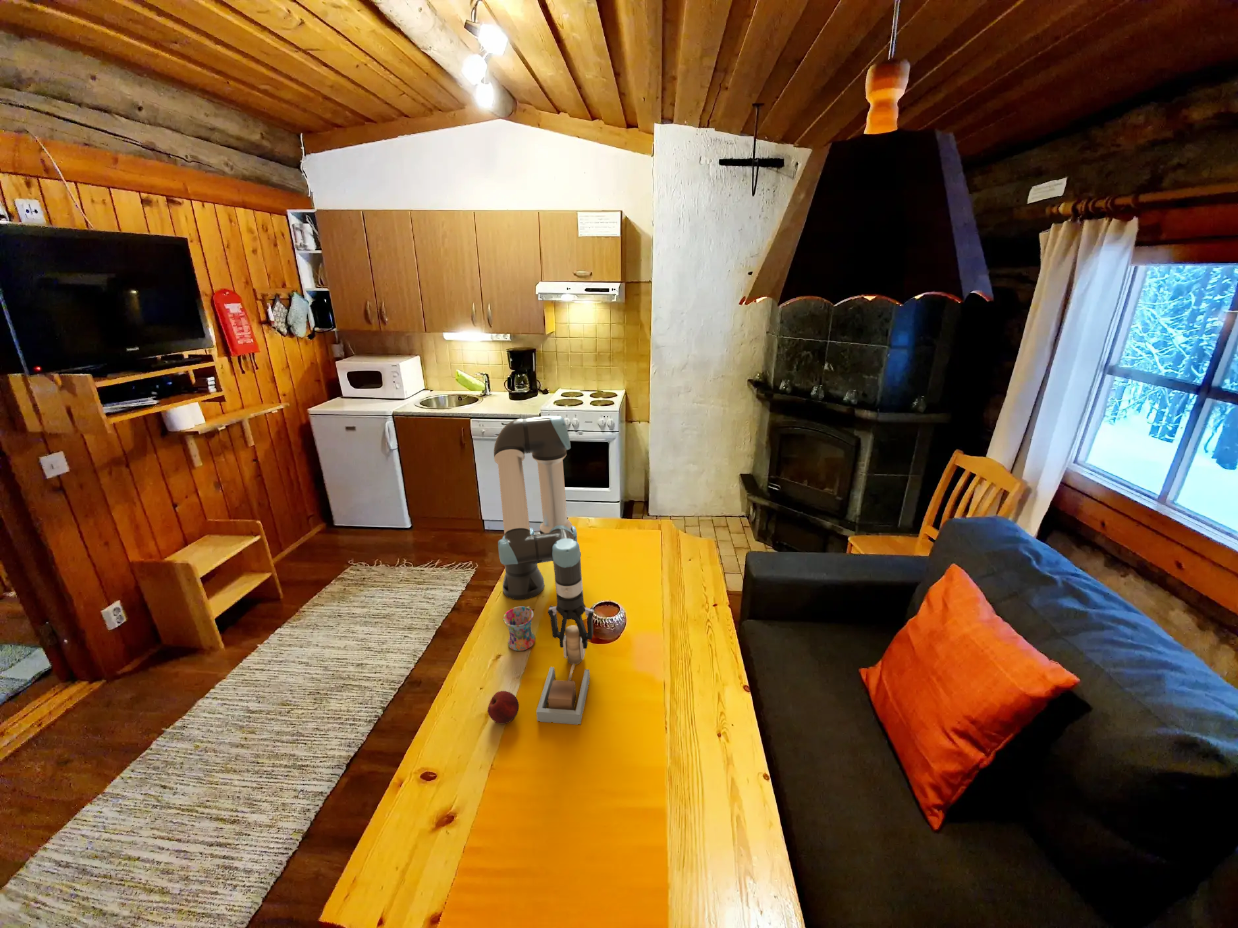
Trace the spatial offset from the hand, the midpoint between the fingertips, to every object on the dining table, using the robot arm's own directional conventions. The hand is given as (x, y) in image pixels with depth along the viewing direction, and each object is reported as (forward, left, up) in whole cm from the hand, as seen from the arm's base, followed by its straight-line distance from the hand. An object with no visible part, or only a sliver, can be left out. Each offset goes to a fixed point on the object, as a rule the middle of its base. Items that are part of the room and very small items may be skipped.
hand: (574, 654), depth 146 cm
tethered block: (+9, 0, -2) cm, 9 cm away
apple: (+22, -14, -2) cm, 26 cm away
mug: (-7, -18, -2) cm, 19 cm away
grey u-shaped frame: (+14, 0, -2) cm, 14 cm away
